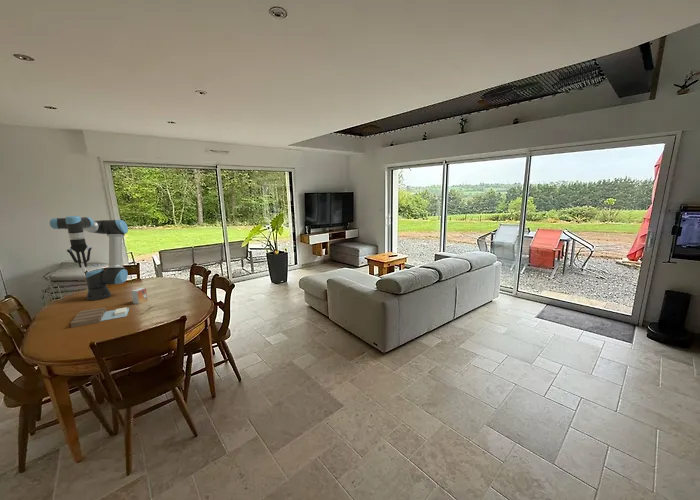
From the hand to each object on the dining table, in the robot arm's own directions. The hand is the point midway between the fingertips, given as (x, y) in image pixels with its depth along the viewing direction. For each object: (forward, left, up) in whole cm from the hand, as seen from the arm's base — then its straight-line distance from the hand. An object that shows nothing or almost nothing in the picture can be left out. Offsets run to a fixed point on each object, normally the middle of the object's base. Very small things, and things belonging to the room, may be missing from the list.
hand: (84, 271), depth 199 cm
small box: (-5, +28, -31) cm, 42 cm away
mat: (+14, +15, -30) cm, 37 cm away
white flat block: (+14, +18, -28) cm, 36 cm away
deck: (+14, +1, -30) cm, 34 cm away
